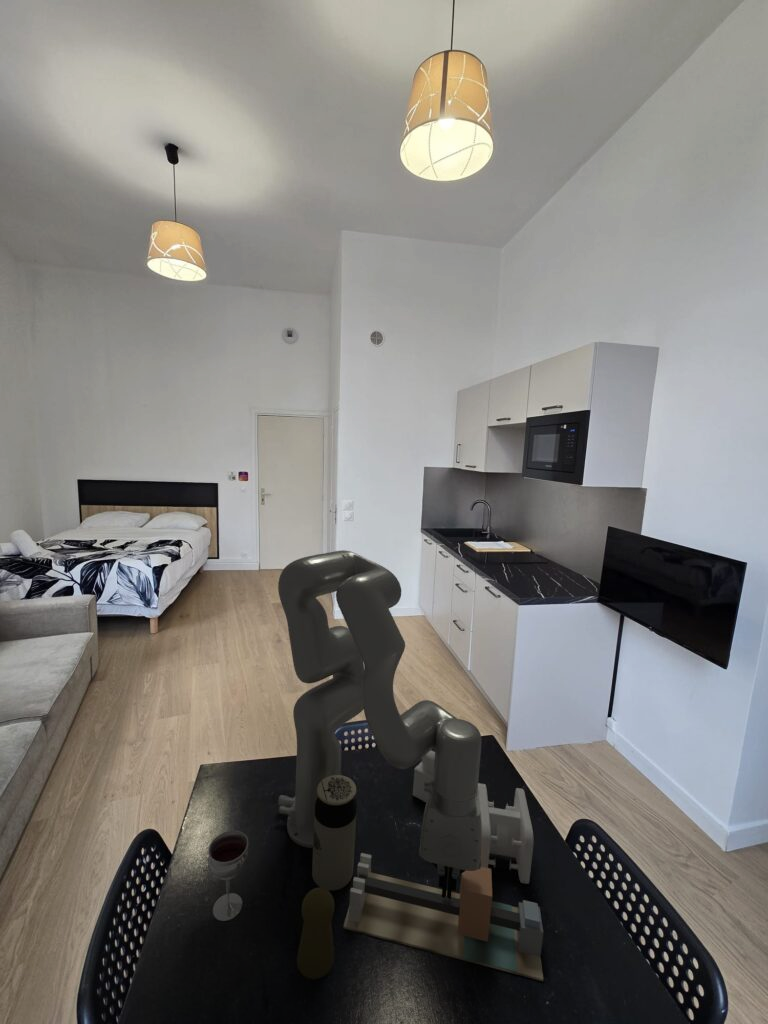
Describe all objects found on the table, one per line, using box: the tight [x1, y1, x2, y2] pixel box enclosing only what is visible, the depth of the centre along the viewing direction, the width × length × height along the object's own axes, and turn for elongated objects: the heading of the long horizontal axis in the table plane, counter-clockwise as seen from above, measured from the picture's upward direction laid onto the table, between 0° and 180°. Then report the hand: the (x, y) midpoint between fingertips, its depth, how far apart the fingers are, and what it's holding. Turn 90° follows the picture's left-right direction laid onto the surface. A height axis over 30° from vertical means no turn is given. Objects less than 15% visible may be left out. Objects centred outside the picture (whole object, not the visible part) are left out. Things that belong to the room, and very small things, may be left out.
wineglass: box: [207, 830, 250, 922], centre depth 80 cm, size 7×7×12 cm
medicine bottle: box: [412, 750, 435, 803], centre depth 109 cm, size 7×7×12 cm
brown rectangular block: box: [458, 867, 493, 942], centre depth 78 cm, size 5×5×9 cm
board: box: [343, 872, 544, 982], centre depth 80 cm, size 33×11×1 cm, turn 79°
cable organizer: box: [477, 782, 535, 885], centre depth 93 cm, size 15×11×12 cm
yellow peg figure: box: [296, 886, 336, 980], centre depth 72 cm, size 6×6×11 cm
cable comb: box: [348, 852, 372, 922], centre depth 83 cm, size 2×8×6 cm, turn 169°
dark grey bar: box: [359, 875, 520, 931], centre depth 80 cm, size 30×2×2 cm, turn 79°
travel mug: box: [311, 774, 358, 891], centre depth 87 cm, size 8×8×18 cm
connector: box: [517, 899, 544, 957], centre depth 77 cm, size 4×4×6 cm
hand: (446, 890), depth 79 cm, fingers closed
